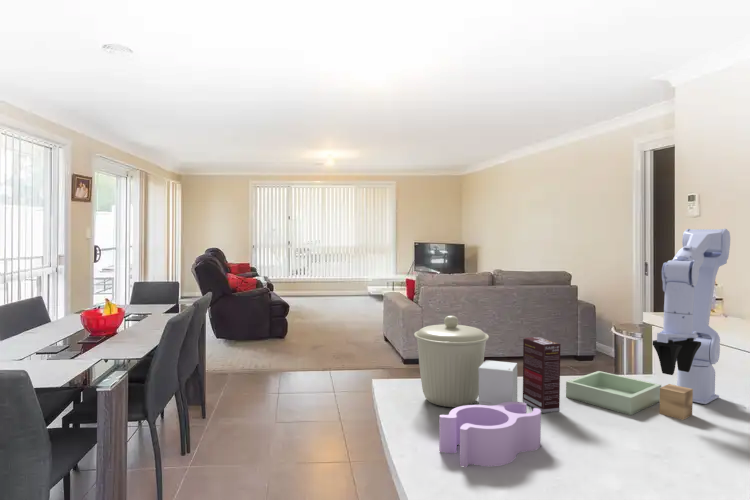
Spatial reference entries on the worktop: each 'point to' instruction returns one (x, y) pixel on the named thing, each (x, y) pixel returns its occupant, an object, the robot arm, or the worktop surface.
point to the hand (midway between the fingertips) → (675, 372)
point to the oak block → (676, 401)
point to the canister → (450, 362)
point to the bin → (613, 392)
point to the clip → (490, 432)
